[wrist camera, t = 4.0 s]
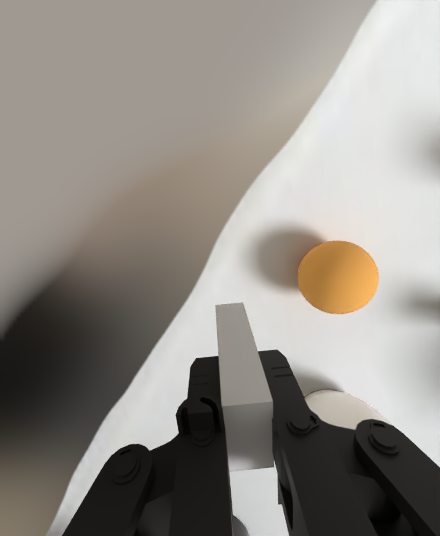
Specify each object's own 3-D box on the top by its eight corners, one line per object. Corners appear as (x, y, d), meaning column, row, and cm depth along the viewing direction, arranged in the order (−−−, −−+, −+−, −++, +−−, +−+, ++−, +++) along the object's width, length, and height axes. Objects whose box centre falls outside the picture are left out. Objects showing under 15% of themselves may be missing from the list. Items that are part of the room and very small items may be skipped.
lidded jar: (283, 453, 30) (316, 564, 21) (268, 384, 27) (299, 479, 18) (370, 434, 30) (440, 536, 21) (365, 362, 27) (444, 446, 18)
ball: (288, 299, 24) (313, 332, 18) (288, 238, 22) (316, 253, 17) (348, 293, 24) (392, 324, 19) (353, 232, 23) (403, 245, 17)
